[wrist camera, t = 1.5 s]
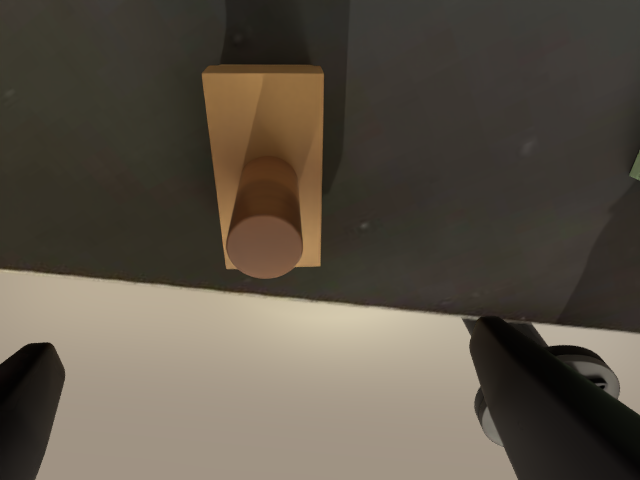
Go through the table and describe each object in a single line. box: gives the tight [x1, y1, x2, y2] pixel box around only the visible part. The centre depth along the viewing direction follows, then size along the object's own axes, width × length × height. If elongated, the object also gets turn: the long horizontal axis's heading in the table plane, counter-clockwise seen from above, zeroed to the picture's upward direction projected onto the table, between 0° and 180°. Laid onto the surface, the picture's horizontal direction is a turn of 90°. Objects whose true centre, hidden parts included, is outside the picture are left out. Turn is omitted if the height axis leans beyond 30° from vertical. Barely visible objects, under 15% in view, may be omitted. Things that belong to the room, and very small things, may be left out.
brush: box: [202, 64, 324, 279], centre depth 16 cm, size 9×4×8 cm, turn 179°
